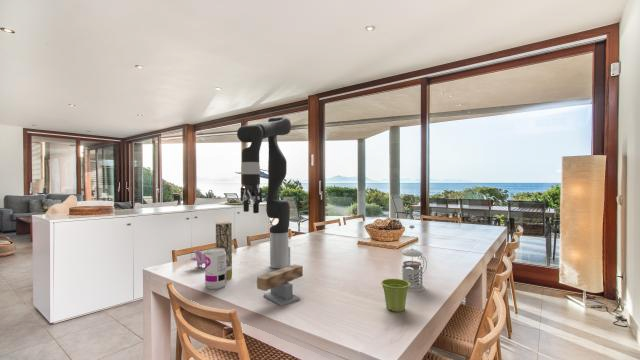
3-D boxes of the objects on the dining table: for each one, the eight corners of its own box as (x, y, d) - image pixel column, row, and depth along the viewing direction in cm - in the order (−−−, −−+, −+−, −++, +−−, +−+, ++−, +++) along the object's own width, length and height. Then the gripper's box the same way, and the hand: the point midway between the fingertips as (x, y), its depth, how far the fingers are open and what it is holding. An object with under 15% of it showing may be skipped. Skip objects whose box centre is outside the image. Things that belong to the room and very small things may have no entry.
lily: (220, 270, 159) (220, 251, 163) (204, 266, 149) (204, 246, 153) (201, 275, 162) (201, 257, 166) (183, 272, 152) (184, 252, 156)
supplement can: (207, 291, 126) (206, 252, 126) (204, 284, 133) (203, 248, 133) (228, 287, 129) (227, 250, 129) (224, 281, 137) (223, 246, 137)
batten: (294, 274, 127) (294, 264, 127) (302, 276, 124) (302, 265, 124) (257, 288, 110) (257, 277, 110) (265, 290, 108) (265, 279, 108)
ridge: (281, 291, 125) (281, 276, 124) (299, 300, 115) (299, 283, 115) (263, 296, 119) (263, 280, 119) (281, 305, 110) (281, 288, 110)
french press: (394, 285, 131) (394, 224, 131) (417, 281, 135) (416, 222, 135) (410, 293, 122) (410, 227, 122) (434, 288, 126) (433, 225, 126)
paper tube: (227, 281, 138) (227, 223, 138) (213, 280, 139) (212, 222, 139) (234, 276, 144) (234, 221, 144) (221, 275, 146) (220, 220, 146)
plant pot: (378, 303, 112) (377, 278, 112) (404, 302, 113) (404, 277, 113) (385, 314, 102) (385, 287, 102) (414, 313, 103) (414, 286, 103)
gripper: (267, 173, 130) (267, 213, 130) (250, 173, 141) (250, 210, 141) (250, 173, 125) (251, 214, 125) (234, 173, 136) (235, 211, 136)
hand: (251, 212), depth 133 cm, fingers open, 8 cm apart
